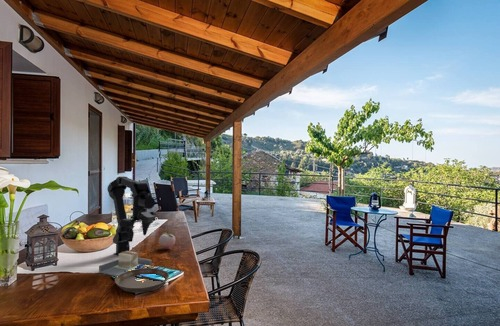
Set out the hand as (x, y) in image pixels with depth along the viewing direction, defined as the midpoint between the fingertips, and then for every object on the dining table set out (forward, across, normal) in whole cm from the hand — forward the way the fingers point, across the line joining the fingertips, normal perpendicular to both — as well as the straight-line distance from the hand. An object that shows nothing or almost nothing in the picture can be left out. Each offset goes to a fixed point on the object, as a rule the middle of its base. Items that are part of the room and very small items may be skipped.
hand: (137, 237), depth 155 cm
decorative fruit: (+12, +23, 0) cm, 26 cm away
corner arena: (+12, -12, -6) cm, 18 cm away
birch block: (+11, -10, -5) cm, 15 cm away
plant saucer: (+12, -21, -25) cm, 35 cm away
